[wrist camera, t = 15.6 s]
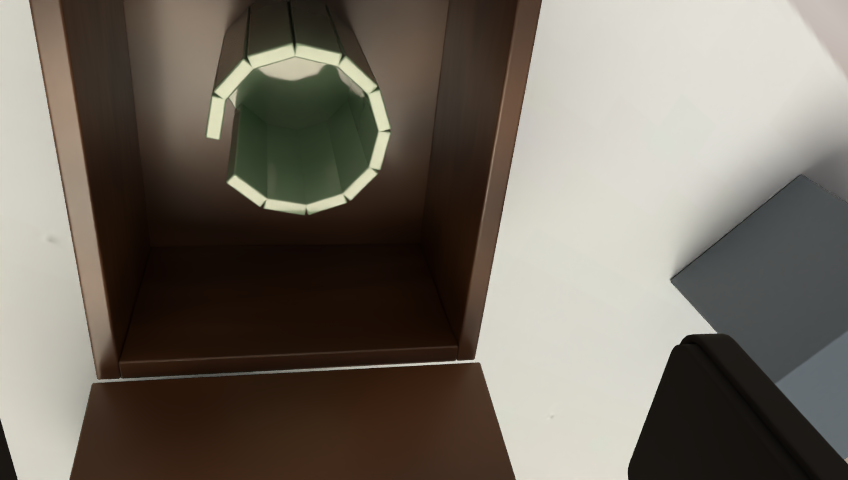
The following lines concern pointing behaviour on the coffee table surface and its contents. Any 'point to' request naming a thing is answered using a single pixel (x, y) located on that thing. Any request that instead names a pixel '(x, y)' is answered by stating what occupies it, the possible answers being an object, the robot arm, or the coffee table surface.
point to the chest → (273, 230)
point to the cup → (298, 108)
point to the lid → (296, 427)
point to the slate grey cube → (786, 299)
